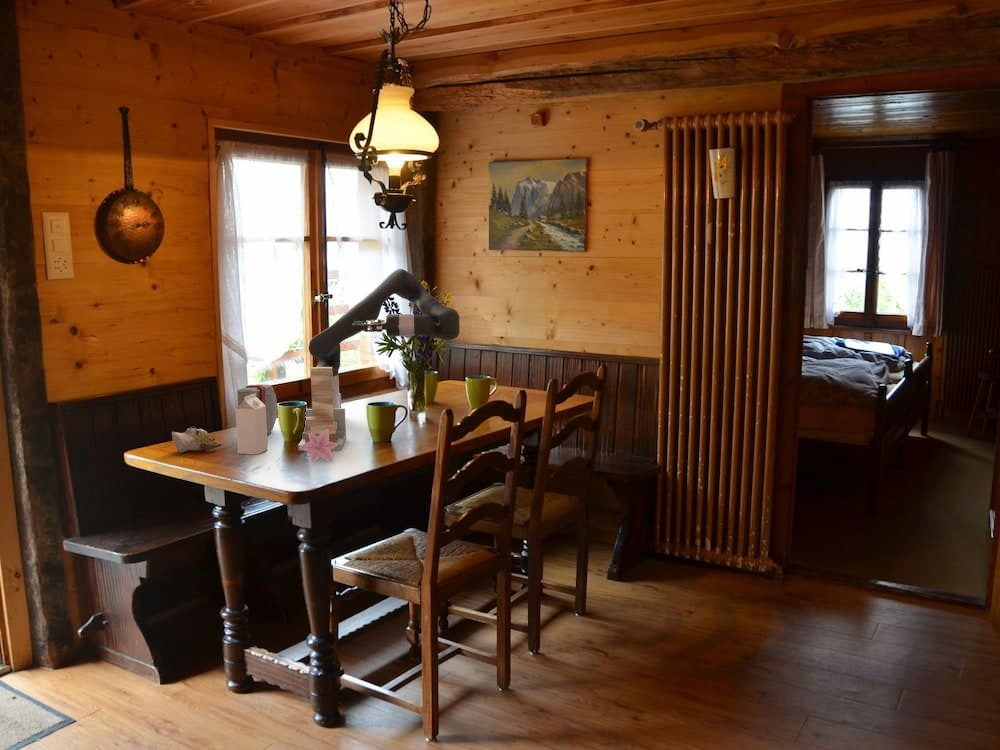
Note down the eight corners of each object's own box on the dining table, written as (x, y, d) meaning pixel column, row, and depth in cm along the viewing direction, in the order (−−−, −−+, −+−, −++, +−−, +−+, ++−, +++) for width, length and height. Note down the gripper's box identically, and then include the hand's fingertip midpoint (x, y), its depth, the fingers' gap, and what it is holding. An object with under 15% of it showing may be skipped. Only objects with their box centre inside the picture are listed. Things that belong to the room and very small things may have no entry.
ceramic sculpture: (168, 424, 290) (214, 421, 298) (168, 449, 292) (214, 446, 299) (175, 430, 281) (222, 427, 289) (174, 456, 283) (222, 453, 290)
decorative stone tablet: (254, 388, 292) (278, 381, 322) (234, 388, 292) (261, 381, 322) (255, 445, 293) (279, 433, 323) (235, 445, 294) (262, 433, 323)
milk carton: (237, 453, 286) (234, 396, 283) (248, 448, 293) (245, 392, 290) (257, 455, 284) (254, 397, 281) (268, 449, 291) (265, 393, 288)
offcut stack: (307, 439, 297) (306, 416, 296) (337, 438, 298) (336, 415, 297) (304, 443, 291) (303, 419, 290) (335, 442, 292) (334, 419, 291)
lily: (294, 463, 277) (297, 443, 272) (308, 443, 286) (311, 423, 281) (327, 475, 276) (331, 454, 271) (340, 454, 285) (343, 434, 280)
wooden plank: (314, 436, 302) (311, 367, 298) (334, 435, 302) (332, 366, 299) (313, 437, 300) (310, 368, 296) (334, 437, 300) (331, 368, 296)
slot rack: (305, 440, 305) (304, 409, 303) (346, 439, 306) (344, 408, 304) (298, 451, 289) (296, 418, 287) (341, 450, 290) (339, 417, 288)
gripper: (401, 312, 303) (354, 313, 302) (399, 316, 289) (350, 317, 288) (401, 334, 304) (354, 334, 303) (400, 338, 290) (350, 339, 289)
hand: (352, 326), depth 296 cm, fingers open, 8 cm apart
